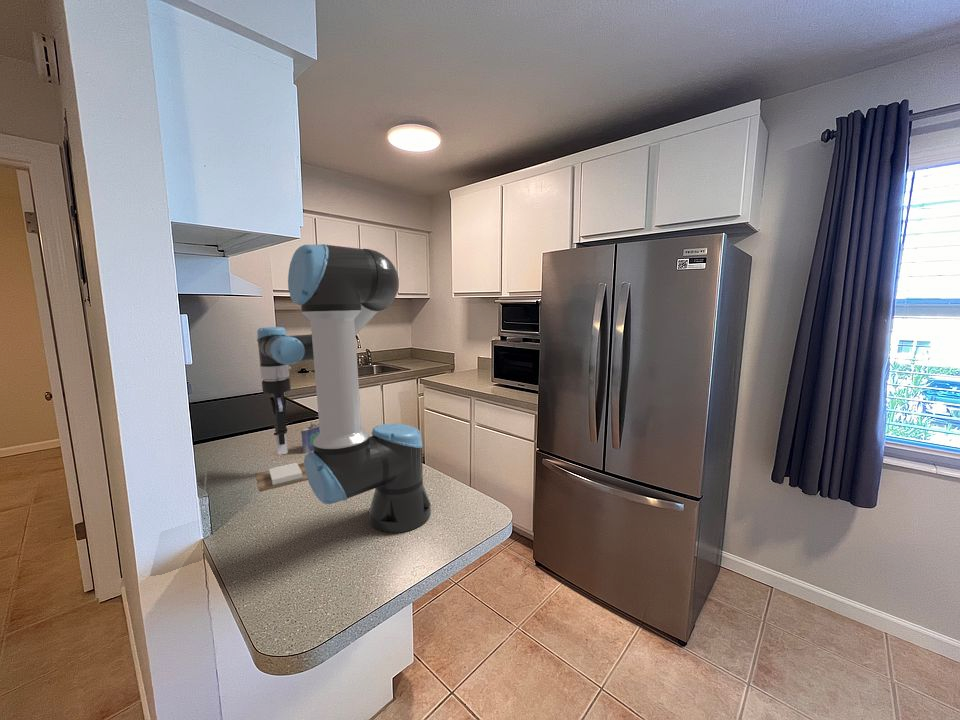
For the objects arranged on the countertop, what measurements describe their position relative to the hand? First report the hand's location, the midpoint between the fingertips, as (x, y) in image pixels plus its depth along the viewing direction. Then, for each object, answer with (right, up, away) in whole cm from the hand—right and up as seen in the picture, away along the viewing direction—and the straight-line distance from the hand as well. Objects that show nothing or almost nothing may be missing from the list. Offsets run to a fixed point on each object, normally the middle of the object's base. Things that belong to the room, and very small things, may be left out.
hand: (282, 453), depth 119 cm
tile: (-1, -5, +2) cm, 6 cm away
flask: (+1, -4, +20) cm, 21 cm away
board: (+1, -7, -1) cm, 7 cm away
